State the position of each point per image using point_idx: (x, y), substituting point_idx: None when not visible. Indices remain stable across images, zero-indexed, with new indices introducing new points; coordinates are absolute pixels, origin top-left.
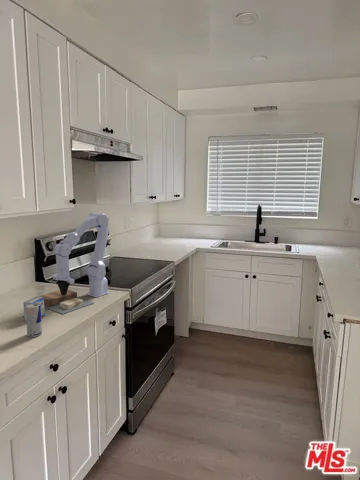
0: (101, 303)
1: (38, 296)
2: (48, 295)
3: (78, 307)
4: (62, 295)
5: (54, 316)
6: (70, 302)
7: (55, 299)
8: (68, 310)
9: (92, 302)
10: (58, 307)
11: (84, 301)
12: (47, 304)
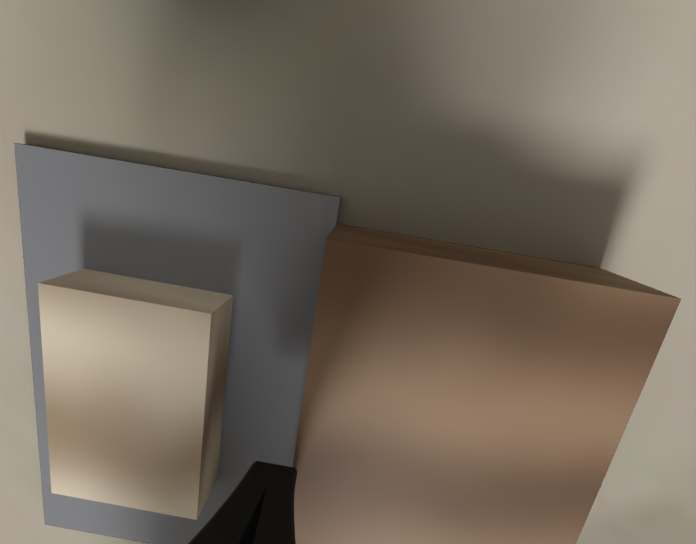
0: (2, 541)
1: (658, 308)
2: (530, 411)
3: None
4: (337, 490)
5: (42, 38)
6: (105, 380)
7: (312, 345)
8: (50, 251)
9: (60, 522)
10: (225, 266)
11: (145, 513)
12: (375, 235)
